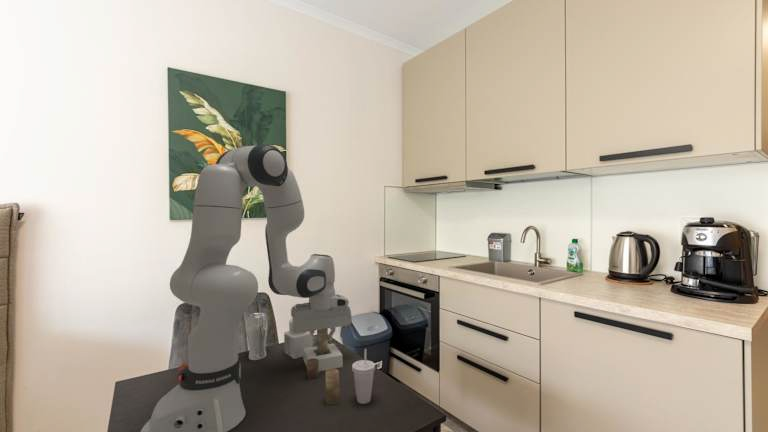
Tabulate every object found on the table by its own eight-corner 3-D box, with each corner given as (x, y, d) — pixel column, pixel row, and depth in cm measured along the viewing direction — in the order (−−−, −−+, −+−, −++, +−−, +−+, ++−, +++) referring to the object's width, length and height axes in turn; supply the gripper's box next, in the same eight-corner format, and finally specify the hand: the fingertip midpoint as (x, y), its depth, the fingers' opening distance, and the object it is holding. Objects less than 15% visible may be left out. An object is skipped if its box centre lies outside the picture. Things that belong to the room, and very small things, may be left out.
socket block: (309, 373, 107) (309, 361, 107) (303, 359, 117) (303, 348, 117) (342, 366, 112) (342, 354, 112) (333, 354, 122) (333, 343, 122)
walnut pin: (308, 380, 103) (308, 364, 103) (305, 375, 106) (305, 359, 106) (319, 378, 104) (319, 362, 104) (317, 373, 107) (317, 357, 107)
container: (302, 347, 128) (302, 313, 128) (313, 353, 123) (313, 318, 123) (284, 353, 123) (283, 317, 123) (294, 359, 117) (293, 322, 117)
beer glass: (255, 362, 115) (254, 319, 115) (243, 358, 119) (242, 316, 119) (271, 355, 121) (271, 314, 121) (259, 351, 125) (259, 311, 125)
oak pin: (327, 406, 89) (327, 376, 89) (324, 399, 92) (324, 370, 92) (340, 403, 90) (340, 373, 90) (337, 396, 94) (336, 368, 94)
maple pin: (318, 360, 112) (318, 325, 112) (316, 356, 115) (315, 321, 115) (329, 358, 114) (328, 323, 113) (326, 354, 117) (326, 320, 117)
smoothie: (372, 407, 88) (372, 354, 88) (349, 405, 89) (348, 353, 89) (377, 394, 94) (377, 345, 94) (355, 392, 95) (355, 343, 95)
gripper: (292, 307, 107) (292, 350, 107) (353, 299, 115) (353, 339, 116) (289, 302, 113) (290, 343, 113) (347, 295, 121) (347, 333, 121)
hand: (322, 341), depth 114 cm, fingers closed on maple pin, 4 cm apart
